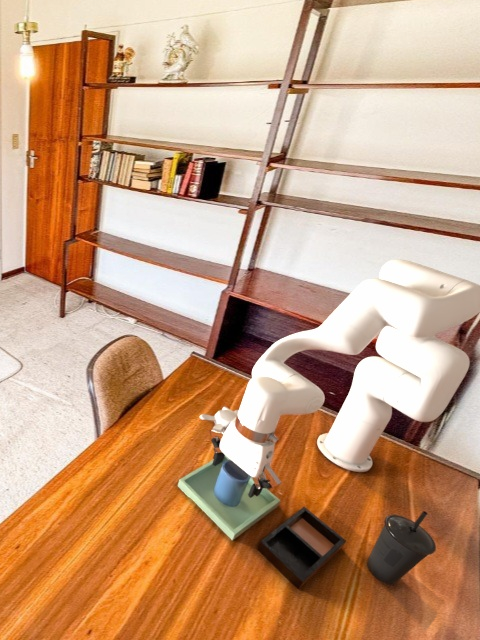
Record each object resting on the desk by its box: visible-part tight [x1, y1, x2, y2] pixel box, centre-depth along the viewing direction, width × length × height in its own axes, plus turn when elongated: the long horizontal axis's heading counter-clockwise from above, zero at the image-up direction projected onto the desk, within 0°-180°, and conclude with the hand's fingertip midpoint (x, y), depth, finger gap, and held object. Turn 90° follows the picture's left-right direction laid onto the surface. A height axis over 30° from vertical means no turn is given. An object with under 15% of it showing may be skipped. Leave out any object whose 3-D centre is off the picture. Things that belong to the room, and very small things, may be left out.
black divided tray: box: [256, 506, 347, 591], centre depth 87 cm, size 17×9×3 cm, turn 119°
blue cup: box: [213, 459, 251, 507], centre depth 96 cm, size 6×6×9 cm
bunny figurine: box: [199, 406, 239, 432], centre depth 118 cm, size 10×5×15 cm
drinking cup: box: [366, 510, 437, 585], centre depth 80 cm, size 8×8×20 cm
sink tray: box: [177, 455, 281, 541], centre depth 98 cm, size 18×16×3 cm
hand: (234, 478), depth 96 cm, fingers open, 9 cm apart
